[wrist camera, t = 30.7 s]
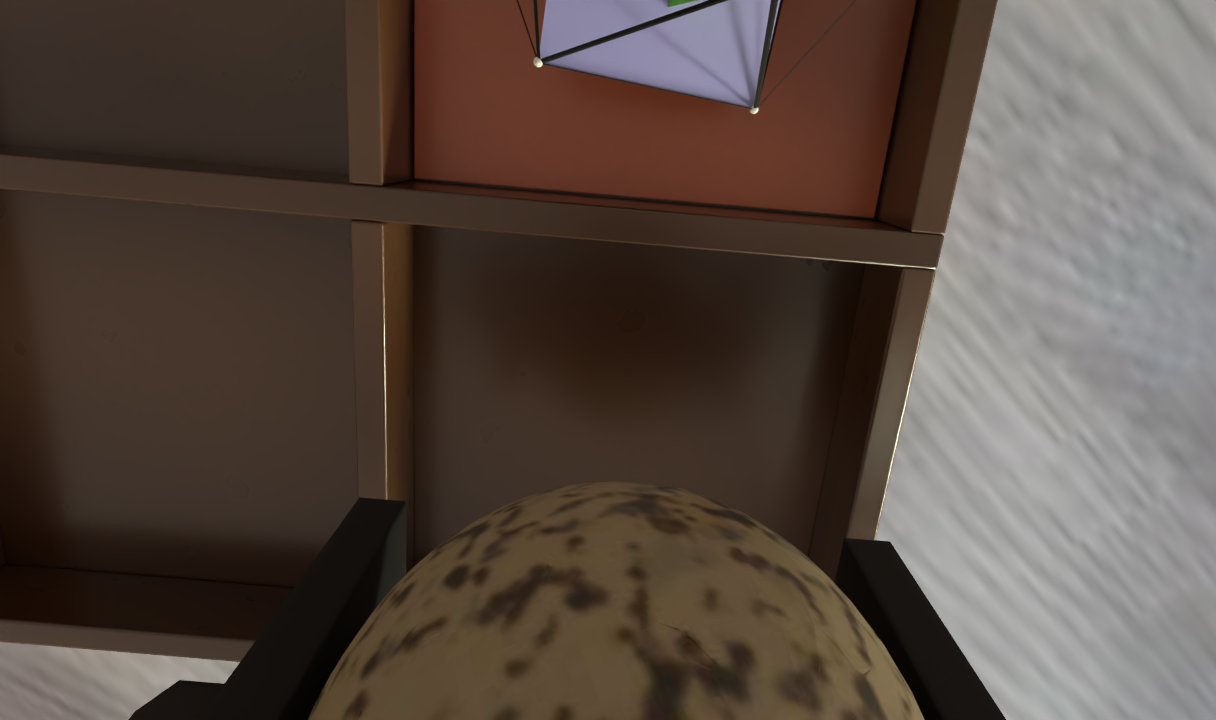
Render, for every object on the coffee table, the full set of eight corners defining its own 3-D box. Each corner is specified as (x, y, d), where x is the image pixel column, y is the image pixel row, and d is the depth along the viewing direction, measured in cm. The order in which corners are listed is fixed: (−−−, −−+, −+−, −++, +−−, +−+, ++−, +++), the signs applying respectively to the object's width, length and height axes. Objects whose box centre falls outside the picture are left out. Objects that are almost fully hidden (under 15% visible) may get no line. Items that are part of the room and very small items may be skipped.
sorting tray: (809, 637, 20) (837, 713, 18) (6, 569, 20) (-89, 636, 18) (1016, -382, 13) (1114, -511, 11) (-212, -492, 13) (-424, -650, 11)
